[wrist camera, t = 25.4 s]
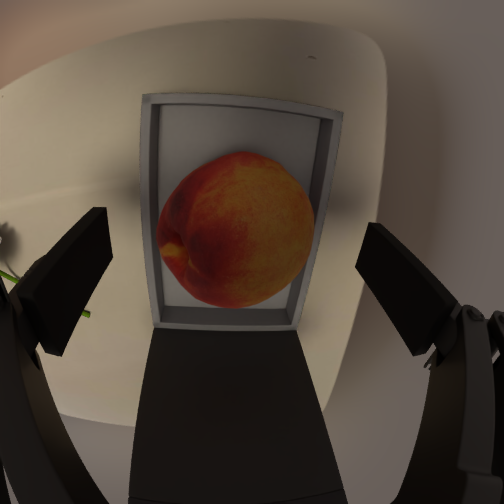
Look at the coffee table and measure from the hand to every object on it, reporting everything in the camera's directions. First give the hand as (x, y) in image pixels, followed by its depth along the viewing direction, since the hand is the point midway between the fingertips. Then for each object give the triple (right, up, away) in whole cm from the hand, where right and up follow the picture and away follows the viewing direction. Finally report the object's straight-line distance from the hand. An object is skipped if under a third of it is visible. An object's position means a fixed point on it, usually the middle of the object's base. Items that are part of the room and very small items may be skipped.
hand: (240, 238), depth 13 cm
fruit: (-1, +3, +5) cm, 6 cm away
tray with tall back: (-1, 0, +7) cm, 7 cm away
